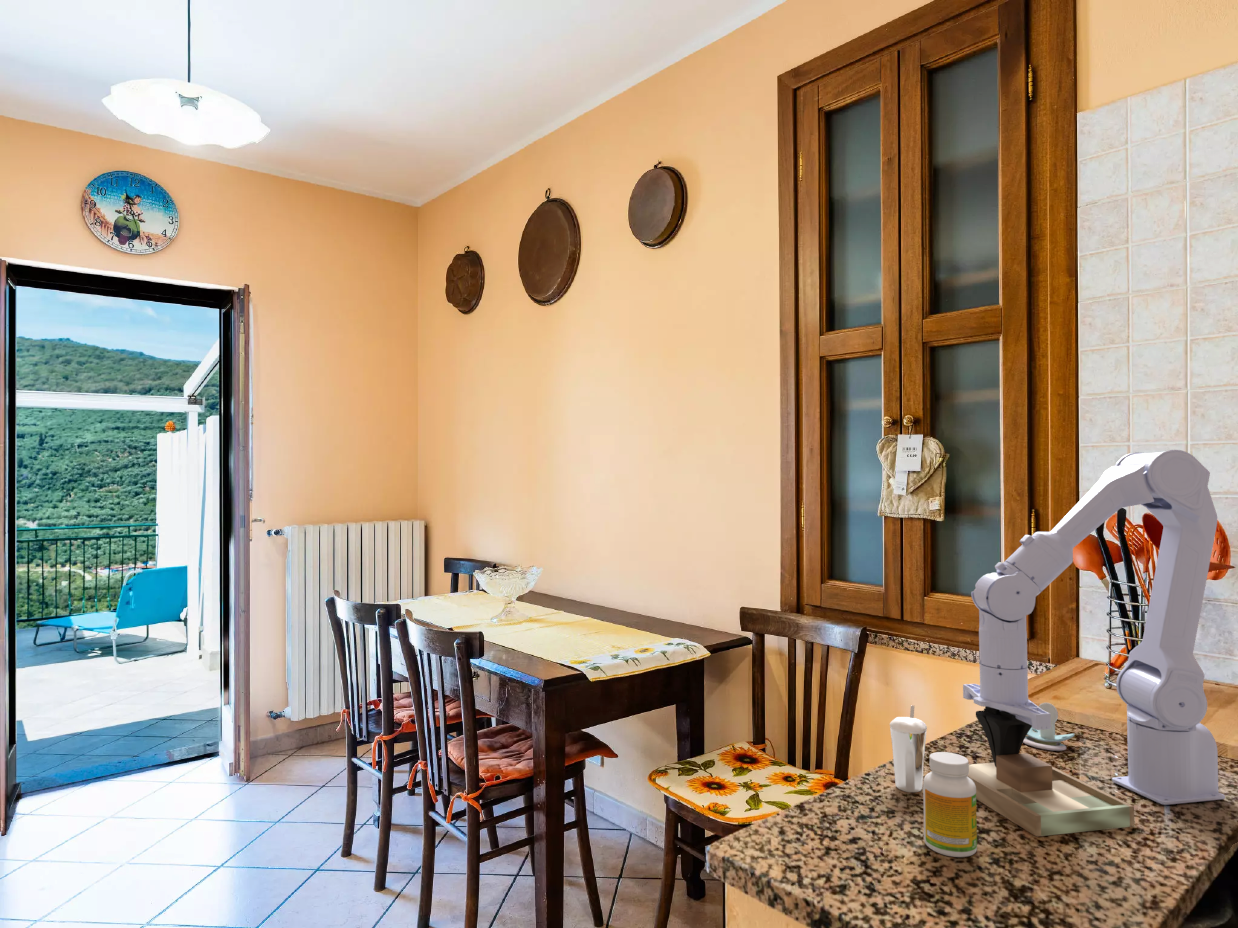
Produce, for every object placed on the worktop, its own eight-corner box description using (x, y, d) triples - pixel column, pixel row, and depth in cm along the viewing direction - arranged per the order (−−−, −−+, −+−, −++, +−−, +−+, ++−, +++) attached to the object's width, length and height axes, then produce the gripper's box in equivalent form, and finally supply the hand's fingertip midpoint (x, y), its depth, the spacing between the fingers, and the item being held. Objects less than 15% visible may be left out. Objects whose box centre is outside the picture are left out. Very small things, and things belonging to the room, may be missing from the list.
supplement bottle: (983, 860, 81) (981, 768, 81) (929, 855, 82) (928, 764, 82) (970, 837, 86) (969, 750, 87) (919, 833, 87) (918, 747, 88)
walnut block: (1026, 776, 100) (1026, 753, 100) (1052, 789, 96) (1052, 765, 96) (996, 778, 99) (996, 755, 100) (1020, 792, 95) (1020, 768, 95)
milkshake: (931, 783, 102) (930, 707, 102) (923, 797, 97) (922, 718, 98) (896, 776, 104) (895, 702, 105) (887, 789, 100) (886, 712, 100)
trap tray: (1026, 770, 106) (1026, 753, 106) (1134, 826, 89) (1133, 806, 89) (942, 777, 104) (942, 760, 104) (1036, 836, 86) (1036, 815, 87)
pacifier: (1063, 757, 112) (1078, 746, 116) (1062, 714, 112) (1077, 705, 116) (1011, 744, 118) (1028, 734, 122) (1010, 703, 118) (1026, 695, 122)
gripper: (943, 654, 108) (944, 750, 108) (1014, 679, 94) (1016, 791, 93) (987, 651, 109) (989, 747, 109) (1064, 676, 95) (1066, 786, 95)
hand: (1005, 767), depth 101 cm, fingers closed
